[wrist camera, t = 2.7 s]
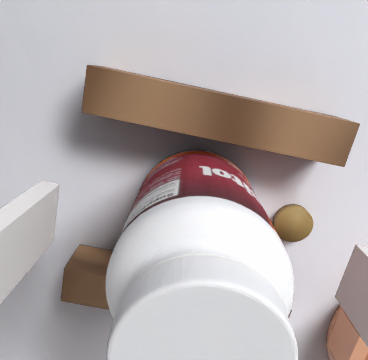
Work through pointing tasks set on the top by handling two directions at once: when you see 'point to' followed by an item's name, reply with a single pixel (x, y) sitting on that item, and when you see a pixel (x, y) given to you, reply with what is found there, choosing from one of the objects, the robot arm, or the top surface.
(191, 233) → the pill bottle
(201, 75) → the top surface
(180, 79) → the top surface
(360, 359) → the terracotta round dish
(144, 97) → the cradle
